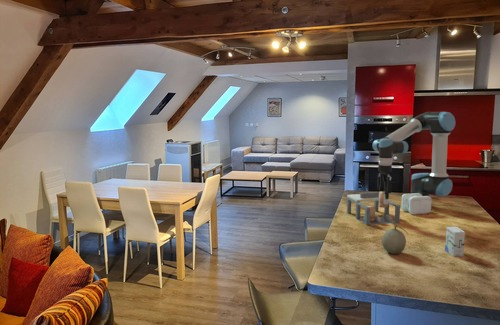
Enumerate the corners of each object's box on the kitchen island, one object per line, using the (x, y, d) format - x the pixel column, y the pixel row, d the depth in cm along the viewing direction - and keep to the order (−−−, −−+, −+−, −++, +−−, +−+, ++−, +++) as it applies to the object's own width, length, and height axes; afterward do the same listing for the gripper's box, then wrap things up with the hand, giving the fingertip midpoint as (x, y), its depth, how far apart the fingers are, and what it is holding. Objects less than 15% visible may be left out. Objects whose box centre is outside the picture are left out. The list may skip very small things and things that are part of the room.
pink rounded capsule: (385, 205, 236) (385, 191, 235) (388, 207, 232) (389, 192, 231) (378, 205, 236) (378, 191, 234) (381, 207, 231) (382, 192, 230)
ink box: (444, 249, 187) (445, 226, 185) (454, 249, 187) (456, 226, 185) (453, 256, 178) (454, 232, 177) (464, 256, 178) (465, 231, 176)
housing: (376, 211, 256) (377, 195, 254) (399, 223, 229) (400, 205, 228) (346, 213, 252) (347, 197, 250) (366, 226, 226) (366, 207, 224)
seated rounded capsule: (372, 219, 236) (373, 205, 235) (376, 221, 232) (376, 207, 230) (365, 220, 235) (366, 205, 234) (369, 222, 231) (369, 207, 230)
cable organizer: (421, 209, 259) (422, 192, 258) (431, 213, 249) (432, 196, 247) (400, 211, 256) (401, 194, 255) (410, 215, 246) (411, 197, 245)
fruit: (405, 259, 176) (406, 227, 174) (379, 254, 182) (380, 223, 180) (409, 251, 185) (410, 221, 183) (384, 247, 191) (385, 218, 189)
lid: (376, 194, 255) (376, 188, 254) (387, 199, 241) (388, 193, 240) (347, 196, 251) (347, 190, 250) (356, 201, 237) (356, 194, 237)
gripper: (372, 162, 238) (370, 200, 241) (387, 167, 221) (385, 207, 224) (383, 162, 239) (381, 199, 243) (399, 166, 222) (397, 206, 225)
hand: (383, 203), depth 233 cm, fingers closed on pink rounded capsule, 5 cm apart
